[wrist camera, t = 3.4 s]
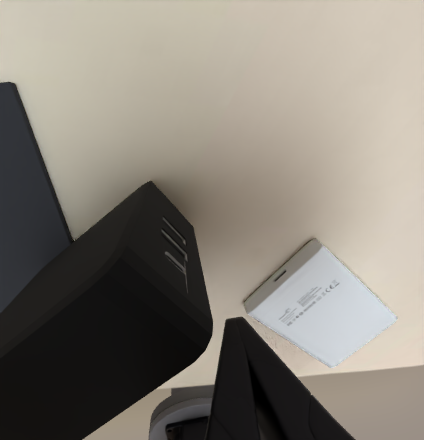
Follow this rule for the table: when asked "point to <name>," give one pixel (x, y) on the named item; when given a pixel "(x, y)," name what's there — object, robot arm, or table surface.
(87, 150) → the table surface
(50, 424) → the electronic device
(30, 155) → the mat
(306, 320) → the hard drive
